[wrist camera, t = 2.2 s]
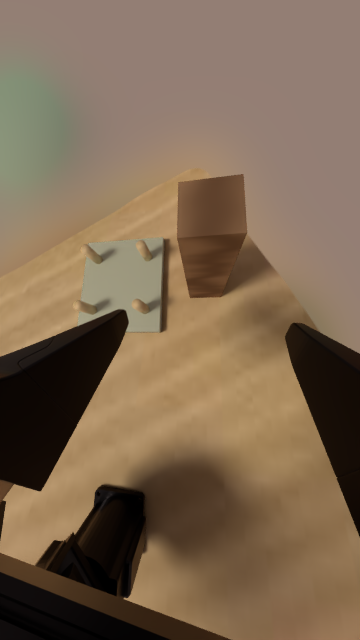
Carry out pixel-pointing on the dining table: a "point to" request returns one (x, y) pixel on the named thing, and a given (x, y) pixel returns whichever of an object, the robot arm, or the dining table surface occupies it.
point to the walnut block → (210, 231)
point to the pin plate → (124, 282)
